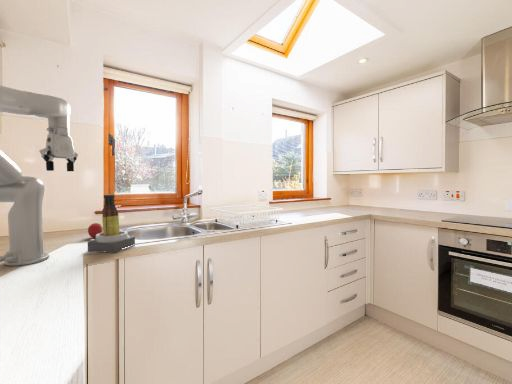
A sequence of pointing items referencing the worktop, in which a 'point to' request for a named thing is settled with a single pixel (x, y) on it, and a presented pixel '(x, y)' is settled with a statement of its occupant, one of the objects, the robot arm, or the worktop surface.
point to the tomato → (94, 229)
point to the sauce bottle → (110, 217)
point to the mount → (111, 242)
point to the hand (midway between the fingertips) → (60, 170)
